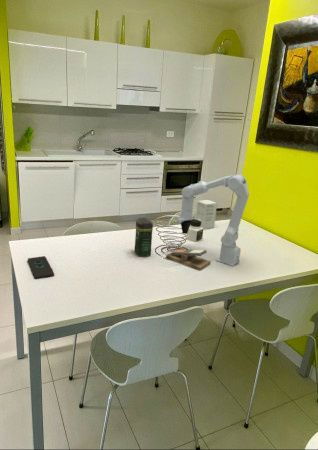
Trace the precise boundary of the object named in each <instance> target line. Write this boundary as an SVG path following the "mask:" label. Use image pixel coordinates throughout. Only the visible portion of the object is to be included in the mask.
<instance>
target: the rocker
mask: <svg viewBox="0 0 318 450" xmlns="http://www.w3.org/2000/svg"><path fill="white" fill-rule="evenodd" d="M170 253H171V255H181V254H184V255H187V256H197V257H201V256H203V255H205V254H206V253H207V250H206V249H203V250H202V249H175V250H174V251H172V252H170Z"/></svg>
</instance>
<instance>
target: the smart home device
mask: <svg viewBox="0 0 318 450" xmlns="http://www.w3.org/2000/svg"><path fill="white" fill-rule="evenodd" d="M27 263H28V265H29V267H30V270H31V273H32V275H33V278H34V279H35V280H41V279H49V278H52V277H55V272H54V270H53V268H52V267H51V265H50V263H49V260H48V259H47V257H46V256H45V255H43V256H36V257H28V258H27Z"/></svg>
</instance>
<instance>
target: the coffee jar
mask: <svg viewBox="0 0 318 450" xmlns="http://www.w3.org/2000/svg"><path fill="white" fill-rule="evenodd" d="M153 229H154V223H153V222H152V220H150V219H148V218H147V217H138V218H137V219H136V221H135V236H134V237H135V238H134V239H135V240H134V253H135V254H136V255H137V256H138V257H142V258H143V257H144V258H145V257H149V256H151V254H152V242H153V240H152V239H153Z"/></svg>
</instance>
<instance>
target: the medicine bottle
mask: <svg viewBox="0 0 318 450" xmlns="http://www.w3.org/2000/svg"><path fill="white" fill-rule="evenodd" d="M191 220H192V223H191V225H190V227H189V229H188V231H189V232H187V234H186V235H189V236H188V238H187V239H186V240H189V241H191V242H194V243H197V242H199V241H201V240H203V236H204V229H203V228H202V227H201V220H199V219H196V218H192V219H191ZM190 229H191V231H190Z"/></svg>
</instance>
